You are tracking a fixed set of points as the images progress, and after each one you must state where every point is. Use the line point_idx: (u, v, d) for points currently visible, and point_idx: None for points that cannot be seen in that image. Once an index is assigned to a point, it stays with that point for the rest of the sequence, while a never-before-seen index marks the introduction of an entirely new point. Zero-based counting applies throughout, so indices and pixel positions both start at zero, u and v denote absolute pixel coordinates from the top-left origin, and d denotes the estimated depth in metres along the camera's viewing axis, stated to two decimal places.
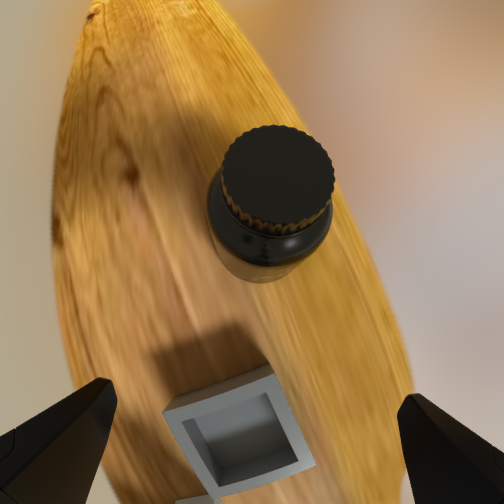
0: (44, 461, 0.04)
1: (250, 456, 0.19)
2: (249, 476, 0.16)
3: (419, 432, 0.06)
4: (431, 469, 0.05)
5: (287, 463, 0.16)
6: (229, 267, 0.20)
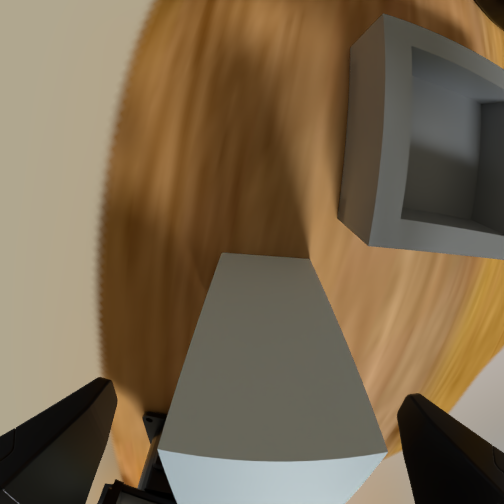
0: (43, 461, 0.04)
1: (421, 204, 0.11)
2: (447, 224, 0.09)
3: (419, 432, 0.06)
4: (431, 469, 0.05)
5: (494, 233, 0.09)
6: None
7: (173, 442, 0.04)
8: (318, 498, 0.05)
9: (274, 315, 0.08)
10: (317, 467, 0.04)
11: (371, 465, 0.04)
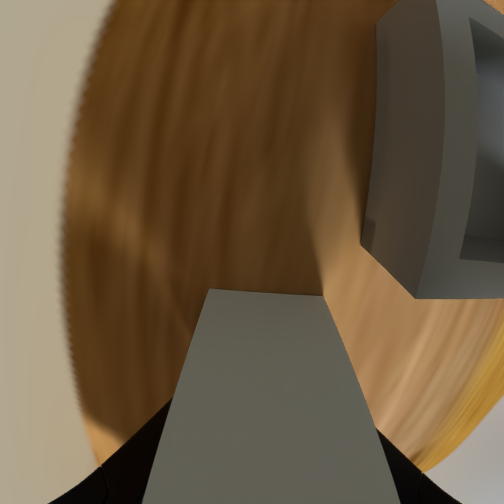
0: (142, 498, 0.04)
1: None
2: None
3: None
4: None
5: None
6: None
7: None
8: None
9: (280, 404, 0.05)
10: None
11: None
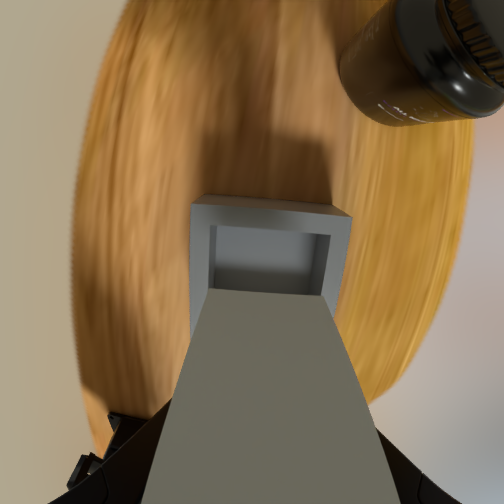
0: None
1: None
2: None
3: None
4: None
5: None
6: (358, 78, 0.13)
7: None
8: None
9: (280, 405, 0.05)
10: None
11: None
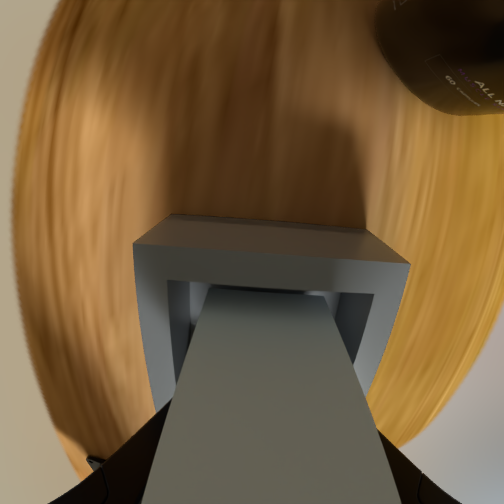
0: (142, 498, 0.04)
1: None
2: None
3: None
4: None
5: None
6: (414, 33, 0.06)
7: None
8: None
9: (280, 404, 0.05)
10: None
11: None
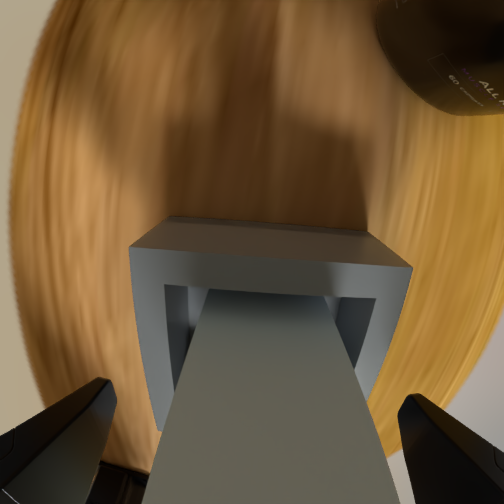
0: (42, 461, 0.04)
1: None
2: None
3: (420, 432, 0.06)
4: (431, 469, 0.05)
5: None
6: (417, 31, 0.06)
7: None
8: None
9: (278, 373, 0.06)
10: None
11: None
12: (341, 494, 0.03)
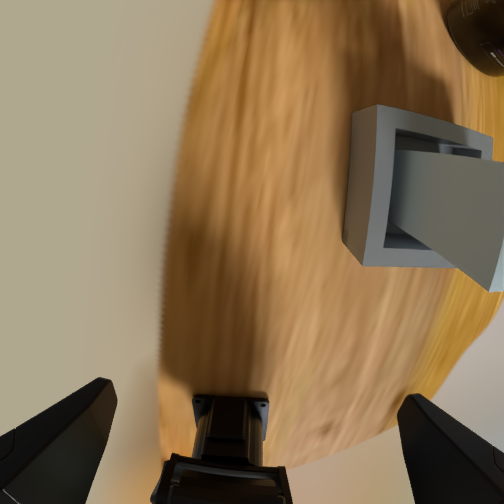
0: (43, 461, 0.04)
1: None
2: (417, 247, 0.14)
3: (419, 432, 0.06)
4: (430, 469, 0.05)
5: None
6: (475, 30, 0.10)
7: None
8: None
9: None
10: None
11: None
12: None
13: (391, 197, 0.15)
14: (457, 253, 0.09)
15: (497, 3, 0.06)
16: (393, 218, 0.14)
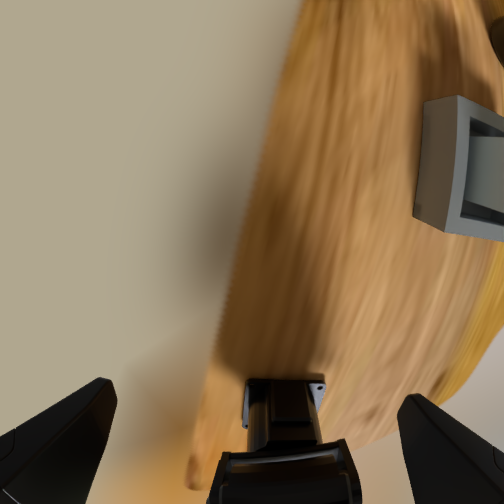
0: (43, 461, 0.04)
1: (461, 208, 0.16)
2: (481, 221, 0.14)
3: (419, 432, 0.06)
4: (430, 469, 0.05)
5: None
6: None
7: None
8: None
9: None
10: None
11: None
12: None
13: None
14: None
15: None
16: None
